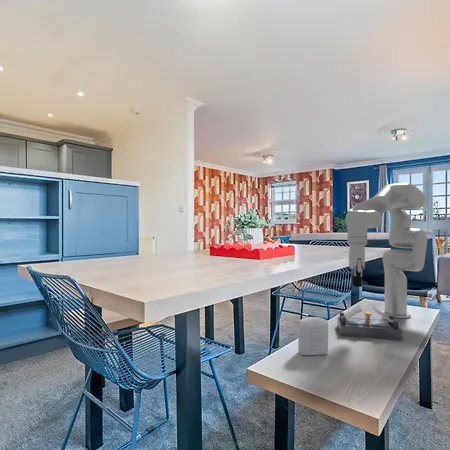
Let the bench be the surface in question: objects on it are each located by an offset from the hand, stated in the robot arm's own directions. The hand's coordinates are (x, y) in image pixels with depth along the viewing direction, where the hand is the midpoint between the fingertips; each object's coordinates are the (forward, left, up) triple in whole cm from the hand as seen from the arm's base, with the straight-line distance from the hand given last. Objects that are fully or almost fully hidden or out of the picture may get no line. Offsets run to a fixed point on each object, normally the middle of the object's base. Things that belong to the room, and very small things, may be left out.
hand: (357, 285), depth 128 cm
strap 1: (0, -2, -12) cm, 13 cm away
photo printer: (+26, -18, -19) cm, 37 cm away
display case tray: (0, +4, -19) cm, 20 cm away
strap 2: (0, +10, -12) cm, 16 cm away
